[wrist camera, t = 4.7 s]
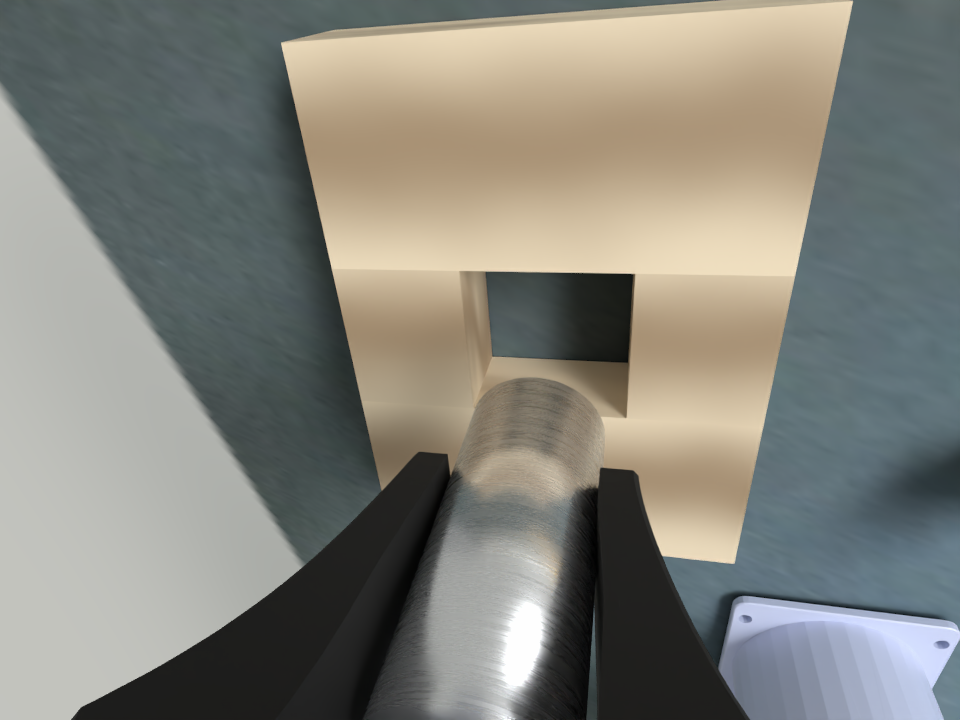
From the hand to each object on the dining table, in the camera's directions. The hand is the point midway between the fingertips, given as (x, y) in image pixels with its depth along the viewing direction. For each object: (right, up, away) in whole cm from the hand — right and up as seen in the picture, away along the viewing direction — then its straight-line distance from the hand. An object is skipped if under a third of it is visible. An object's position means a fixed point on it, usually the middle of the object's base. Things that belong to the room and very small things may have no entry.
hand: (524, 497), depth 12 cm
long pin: (0, +1, +1) cm, 2 cm away
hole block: (+2, +5, +7) cm, 9 cm away
